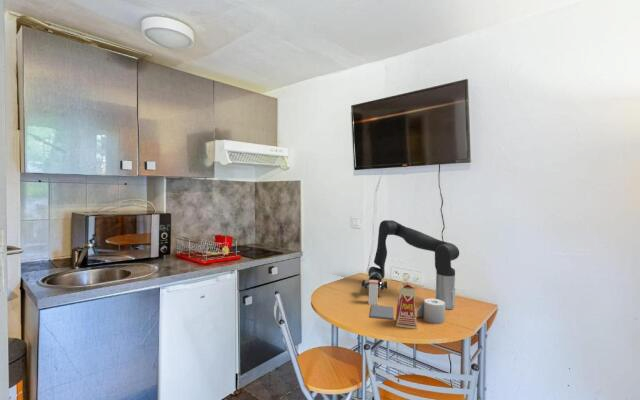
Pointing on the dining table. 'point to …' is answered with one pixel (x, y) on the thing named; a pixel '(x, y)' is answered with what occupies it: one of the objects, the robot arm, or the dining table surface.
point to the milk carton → (406, 307)
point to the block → (373, 292)
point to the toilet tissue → (432, 311)
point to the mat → (382, 312)
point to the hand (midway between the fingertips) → (373, 287)
